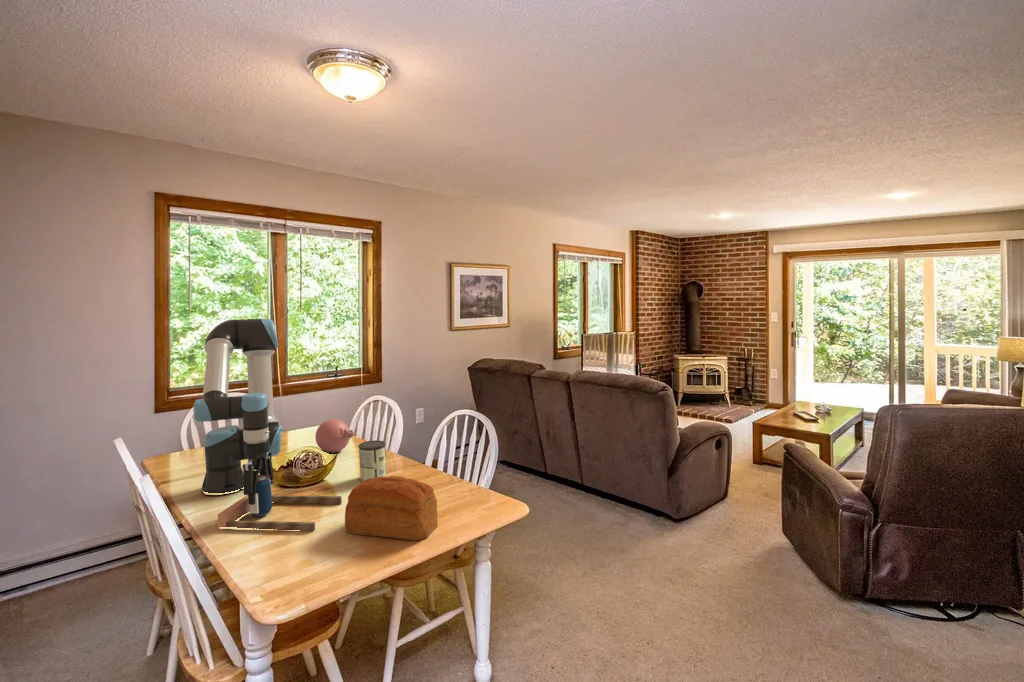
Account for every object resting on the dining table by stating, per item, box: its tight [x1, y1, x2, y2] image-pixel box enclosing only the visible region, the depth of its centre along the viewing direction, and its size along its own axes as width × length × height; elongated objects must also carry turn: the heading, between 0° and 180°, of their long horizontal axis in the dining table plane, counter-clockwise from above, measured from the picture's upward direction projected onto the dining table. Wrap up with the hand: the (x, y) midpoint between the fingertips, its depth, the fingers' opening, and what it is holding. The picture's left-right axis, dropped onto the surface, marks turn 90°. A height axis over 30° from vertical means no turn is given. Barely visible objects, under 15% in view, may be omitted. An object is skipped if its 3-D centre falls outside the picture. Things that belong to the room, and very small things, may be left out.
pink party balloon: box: [314, 418, 355, 454], centre depth 244 cm, size 15×20×15 cm
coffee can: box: [358, 440, 388, 483], centre depth 208 cm, size 10×10×14 cm
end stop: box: [217, 495, 249, 528], centre depth 175 cm, size 2×22×5 cm, turn 176°
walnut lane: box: [226, 494, 343, 532], centre depth 174 cm, size 28×22×2 cm
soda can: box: [248, 474, 273, 517], centre depth 174 cm, size 7×7×12 cm
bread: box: [344, 475, 438, 541], centre depth 163 cm, size 16×27×16 cm, turn 76°
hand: (260, 508), depth 175 cm, fingers closed on soda can, 7 cm apart
